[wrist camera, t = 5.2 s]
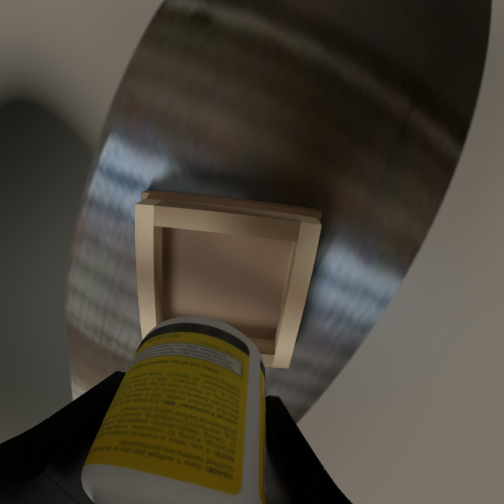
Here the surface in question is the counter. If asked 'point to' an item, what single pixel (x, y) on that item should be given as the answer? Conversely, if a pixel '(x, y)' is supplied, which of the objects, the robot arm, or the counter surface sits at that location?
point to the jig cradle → (226, 265)
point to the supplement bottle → (184, 421)
